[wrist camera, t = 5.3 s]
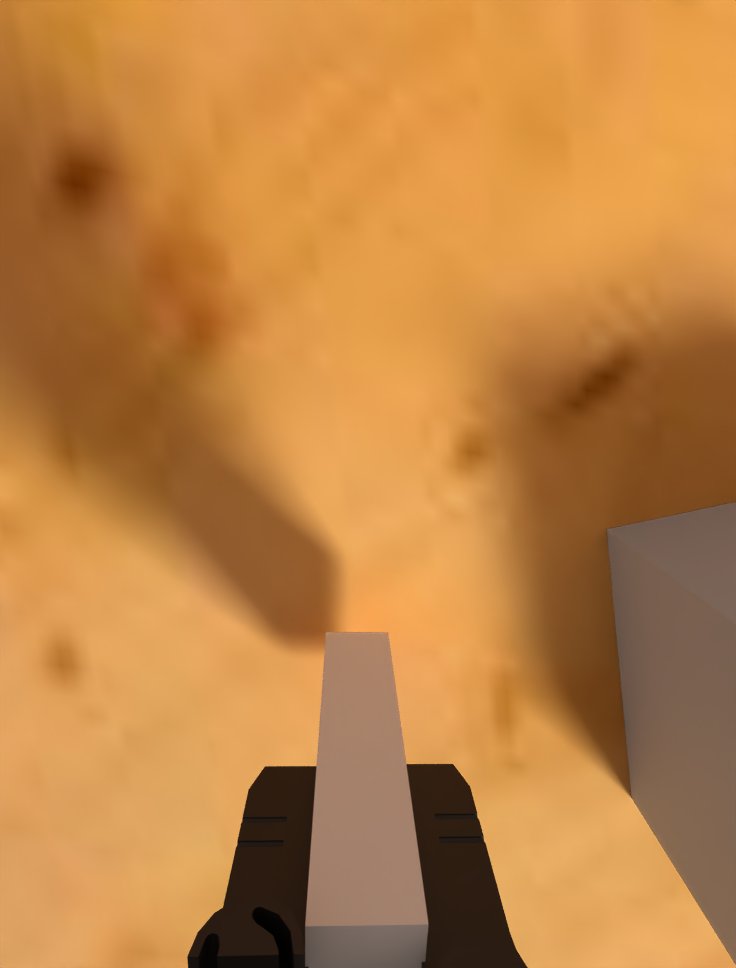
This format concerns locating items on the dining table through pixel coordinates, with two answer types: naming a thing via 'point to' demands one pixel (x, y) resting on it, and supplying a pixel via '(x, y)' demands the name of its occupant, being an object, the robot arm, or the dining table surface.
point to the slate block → (682, 693)
